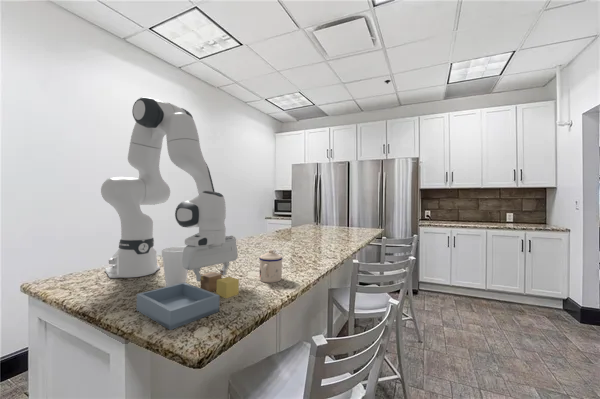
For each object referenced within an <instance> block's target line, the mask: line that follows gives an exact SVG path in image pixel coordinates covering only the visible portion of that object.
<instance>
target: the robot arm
mask: <svg viewBox="0 0 600 399" xmlns="http://www.w3.org/2000/svg"><path fill="white" fill-rule="evenodd" d="M132 116H133V119H134V121H135V124H134V127H133V129H132V132H131V136H130V141H129V148H128V154H127V161H128V163H129V165H130V166H131V167H133V168H134V169H136V170H137V171H138V175H139V177H128V176H127V177H126V176H125V177H124V176H116V177H115V176H114V177H109V178H106V180H104V181H103V183H102V185H101V188H100V193H101V194H100V195H101V197H102V198H103V200H104V201H105V202H106V203H107V204H109V205H110V206H111V207H113V208H114V209H115V211H116V213H117V214H118V217H119V220H120V229H121V230H120V232H121V234H120V235H121V236H120V237H121V238H120V239H119V242H118V250H117V251H116V252H115V253H114V254H113V255H112V257H111V258H108V265H110V266H108V267H105V269H104V272H105V273H106V274H107V276H108V278H109V279H116V278H117V279H118V278H125V279H126V278H138V277H144V276H149V275H153V274H155V273H156V272H157V271H159V270H160V269H161V266H160V265H158V258H157V257H158V255H157V250H156V249H155V248H154V246H155V245H154V244H155V240H154V237H153V235H154V234H153V232H154V231H153V230H154V227H153V226H154V221H153V219H152V218H151V216H149V215H147V214H145V213H143V211H142V210H141V205H143V206H147V205H148V206H151V205H152V206H153V205H154V206H155V205H161V204H164V203H166V202H167V201H168V200H169V198H170V196H171V189H170V186H169V184H168V183H167V182H166V181H165V180H164V179H163V176H162V174H161V172H160V160H161V152H162V147H163V141H164V140H163V139H164V138H165V136H166V138H165V139H166V146H167V147H166V148H167V153H168V156H169V160H170V161H171V162H172V164H173V165H175V167H177V168H179V169H181V171H184V172H185V173H187V174H188V175H190V177H192V178H193V180H194V182H195V184H196V189H197V192H198V195H196V196H195V197H193V198H190V199H188V200H185V201H181V202H180V203H179V204H178V205H177V206H176V208H175V212H174V213H175V214H174V216H175V217H174V218H175V221H176V222H177V224H178V225H179V226H180V227H182V228H188V229H191V228H198V232H197V233H195V234H193V235H191V236H188V237H187V238H185V239H184V245H186V246H184V247H185V248H184V251H183V258H182V266H183V267H184V269H187V270H188V271H193V273H194V274H195V276H196V277H195V278H196V279H195V280H196V281H197V282H200V281H203V275H202V274H201V269H202V268H206V267H212V266H216V265H223V266H222V269H220V270H219V272H220V273H219V274H222V276H225V275H227V270H228V268H229V266H230V262H235V261H237V260H238V258H239V257H238V255H239V253H238V245H237V238H236V237H235V236H234V235H226V233H227V232H226V225H225V221H226V216H227V213H226V211H227V210H226V200H225V197H224V195H223V194H222V193H220V192H216V191H215V187H214V184H213V179H212V175H211V171H210V168H209V165H208V164H207V162H206V160H205V159H204V158H205V157H204V155H203V153H202V150H201V142H200V137H199V132H198V129H197V125H196V122H195V120H194V118H193V115H192V114H191V113H190V112H189V111H188V110H187V109H185V108H183V107H179V106H177V105H175V104H173V103H170V102H165V101H161V100H159V99H155V98H153V97H147V96H142V97H139V98H138V99H137V100H136V101H134V103H133V105H132Z"/></svg>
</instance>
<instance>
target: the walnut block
mask: <svg viewBox="0 0 600 399" xmlns="http://www.w3.org/2000/svg"><path fill="white" fill-rule="evenodd" d="M201 275H203V281H199V282H200V283H199V284H200V286H199V288H201V289H204V290H207V291H209V292H214V291H215V292H216V290H217V280H218V279H222V278H223V277H222V276H223V275H222V274H220V273H218V272H214V271H210V272H206V273H203V274H201Z"/></svg>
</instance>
